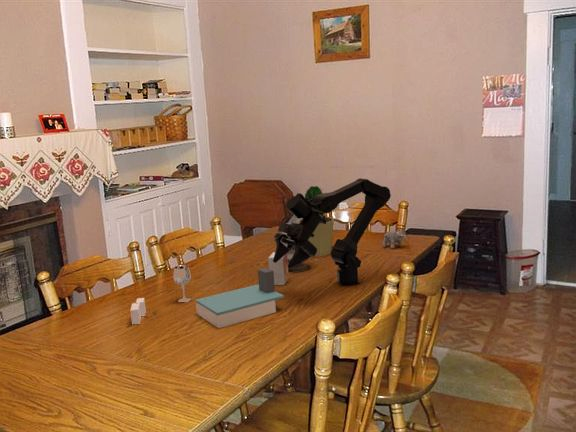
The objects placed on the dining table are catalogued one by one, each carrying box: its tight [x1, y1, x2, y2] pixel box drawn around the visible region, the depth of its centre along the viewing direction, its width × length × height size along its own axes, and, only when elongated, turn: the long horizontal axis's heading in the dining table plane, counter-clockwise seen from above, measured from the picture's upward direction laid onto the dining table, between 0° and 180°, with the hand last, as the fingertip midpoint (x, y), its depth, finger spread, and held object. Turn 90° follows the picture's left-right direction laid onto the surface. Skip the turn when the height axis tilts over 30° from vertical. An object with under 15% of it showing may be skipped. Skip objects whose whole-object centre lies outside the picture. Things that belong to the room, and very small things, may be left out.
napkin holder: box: [130, 297, 147, 326], centre depth 187 cm, size 15×11×6 cm
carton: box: [195, 300, 277, 329], centre depth 185 cm, size 20×16×4 cm
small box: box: [267, 251, 290, 286], centre depth 214 cm, size 8×6×10 cm
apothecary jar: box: [279, 221, 310, 273], centre depth 230 cm, size 12×12×18 cm
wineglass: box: [173, 264, 192, 303], centre depth 200 cm, size 6×6×12 cm
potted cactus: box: [297, 185, 335, 258], centre depth 250 cm, size 15×15×30 cm
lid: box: [195, 267, 285, 315], centre depth 185 cm, size 23×16×10 cm
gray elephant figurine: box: [381, 229, 409, 250], centre depth 253 cm, size 9×12×8 cm
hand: (281, 264), depth 193 cm, fingers open, 9 cm apart
